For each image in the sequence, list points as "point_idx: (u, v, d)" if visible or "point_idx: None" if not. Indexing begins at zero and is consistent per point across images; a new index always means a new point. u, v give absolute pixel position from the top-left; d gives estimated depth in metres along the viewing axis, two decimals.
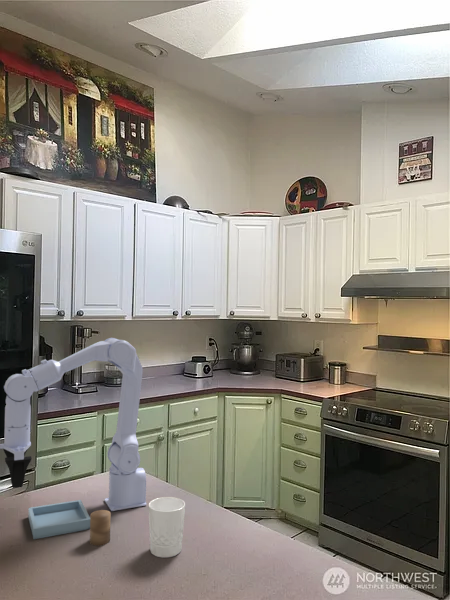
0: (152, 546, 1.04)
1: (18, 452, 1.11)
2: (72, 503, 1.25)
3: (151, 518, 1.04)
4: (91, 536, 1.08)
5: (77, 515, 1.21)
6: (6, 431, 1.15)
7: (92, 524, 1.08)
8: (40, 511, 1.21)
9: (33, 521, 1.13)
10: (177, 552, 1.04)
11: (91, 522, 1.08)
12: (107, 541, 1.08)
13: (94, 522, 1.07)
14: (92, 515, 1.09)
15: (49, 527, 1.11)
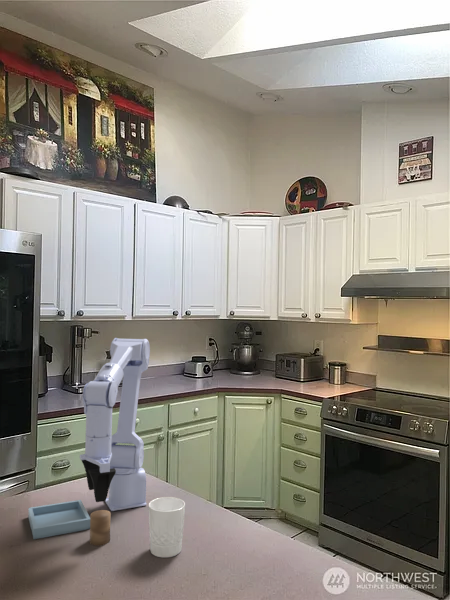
0: (152, 546, 1.04)
1: (104, 464, 1.04)
2: (72, 503, 1.25)
3: (151, 518, 1.04)
4: (91, 536, 1.08)
5: (77, 515, 1.21)
6: (88, 441, 1.08)
7: (92, 524, 1.08)
8: (40, 511, 1.21)
9: (33, 521, 1.13)
10: (177, 552, 1.04)
11: (91, 522, 1.08)
12: (107, 541, 1.08)
13: (94, 522, 1.07)
14: (92, 515, 1.09)
15: (49, 527, 1.11)
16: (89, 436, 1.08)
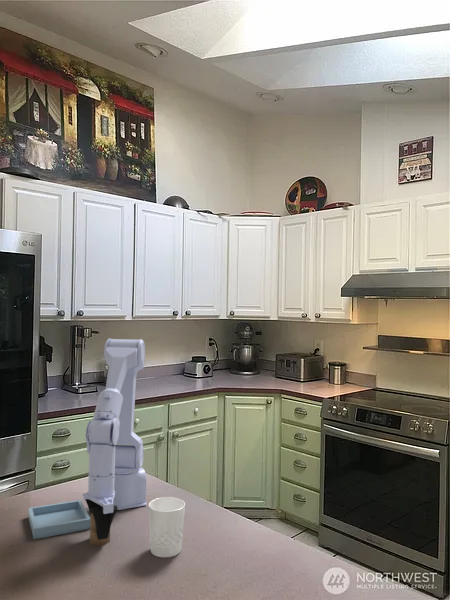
0: (152, 546, 1.04)
1: (108, 505, 1.03)
2: (72, 503, 1.25)
3: (151, 518, 1.04)
4: (91, 536, 1.08)
5: (77, 515, 1.21)
6: (91, 480, 1.07)
7: (92, 524, 1.08)
8: (40, 511, 1.21)
9: (33, 521, 1.13)
10: (177, 552, 1.04)
11: (91, 522, 1.08)
12: (107, 541, 1.08)
13: (94, 522, 1.07)
14: None
15: (49, 527, 1.11)
16: (92, 475, 1.07)
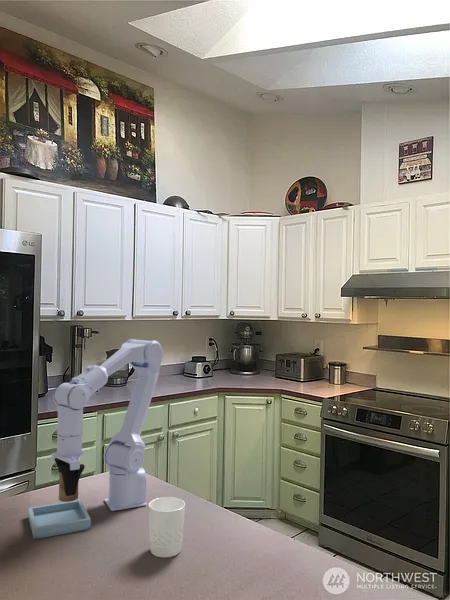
0: (152, 546, 1.04)
1: (74, 462, 1.10)
2: (72, 503, 1.25)
3: (151, 518, 1.04)
4: (60, 493, 1.15)
5: (77, 515, 1.21)
6: (59, 440, 1.14)
7: (60, 481, 1.14)
8: (40, 511, 1.21)
9: (33, 521, 1.13)
10: (177, 552, 1.04)
11: (60, 480, 1.15)
12: (75, 498, 1.15)
13: (62, 480, 1.14)
14: None
15: (49, 527, 1.11)
16: (60, 435, 1.14)
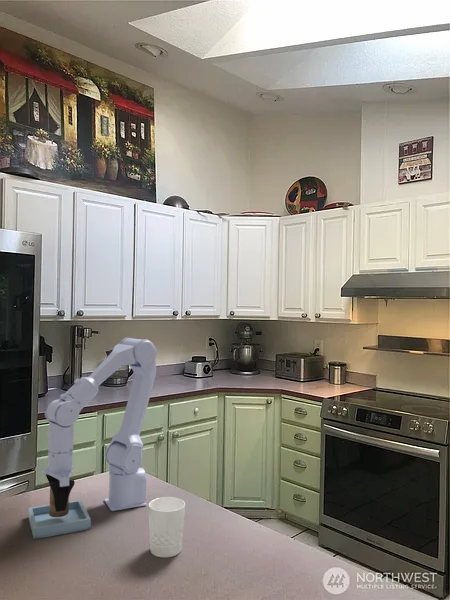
0: (152, 546, 1.04)
1: (64, 478, 1.11)
2: (72, 503, 1.25)
3: (151, 518, 1.04)
4: (50, 508, 1.16)
5: (77, 515, 1.21)
6: (50, 457, 1.16)
7: (51, 497, 1.16)
8: (40, 511, 1.21)
9: (33, 521, 1.13)
10: (177, 552, 1.04)
11: (50, 495, 1.17)
12: (65, 513, 1.17)
13: (52, 495, 1.16)
14: None
15: (49, 527, 1.11)
16: (51, 452, 1.16)
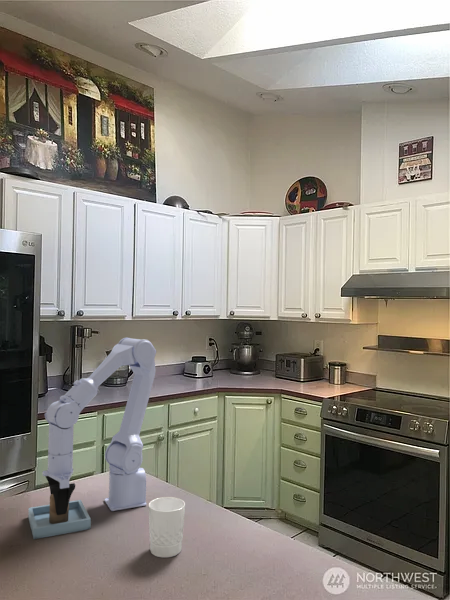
0: (152, 546, 1.04)
1: (64, 480, 1.11)
2: (72, 503, 1.25)
3: (151, 518, 1.04)
4: (50, 515, 1.16)
5: (77, 515, 1.21)
6: (50, 458, 1.16)
7: (51, 504, 1.16)
8: (40, 511, 1.21)
9: (33, 521, 1.13)
10: (177, 552, 1.04)
11: (50, 502, 1.17)
12: (65, 520, 1.17)
13: (52, 503, 1.16)
14: (52, 496, 1.17)
15: (49, 527, 1.11)
16: (51, 454, 1.16)
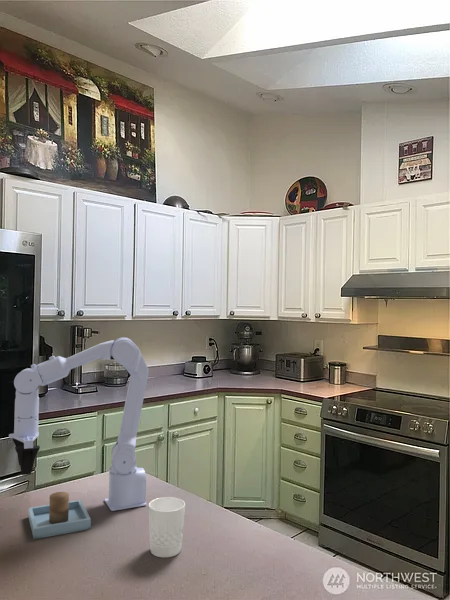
0: (152, 546, 1.04)
1: (28, 441, 1.18)
2: (72, 503, 1.25)
3: (151, 518, 1.04)
4: (50, 515, 1.16)
5: (77, 515, 1.21)
6: (16, 422, 1.22)
7: (50, 504, 1.16)
8: (40, 511, 1.21)
9: (33, 521, 1.13)
10: (177, 552, 1.04)
11: (50, 502, 1.17)
12: (65, 520, 1.17)
13: (52, 503, 1.16)
14: (51, 496, 1.17)
15: (49, 527, 1.11)
16: (17, 417, 1.22)
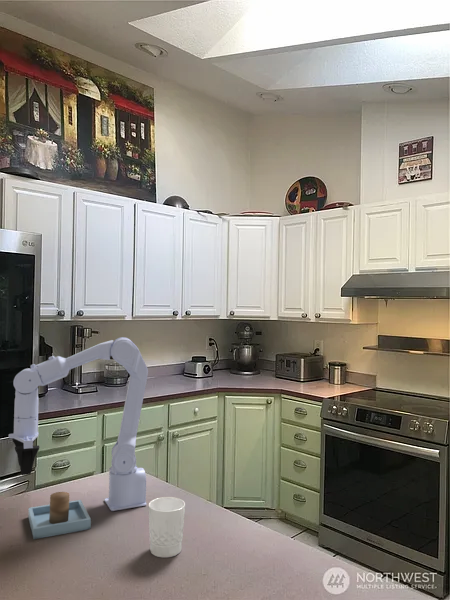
0: (152, 546, 1.04)
1: (27, 441, 1.18)
2: (72, 503, 1.25)
3: (151, 518, 1.04)
4: (50, 515, 1.16)
5: (77, 515, 1.21)
6: (15, 422, 1.22)
7: (51, 504, 1.16)
8: (40, 511, 1.21)
9: (33, 521, 1.13)
10: (177, 552, 1.04)
11: (50, 502, 1.17)
12: (65, 520, 1.17)
13: (52, 502, 1.16)
14: (52, 496, 1.17)
15: (49, 527, 1.11)
16: (16, 417, 1.22)
